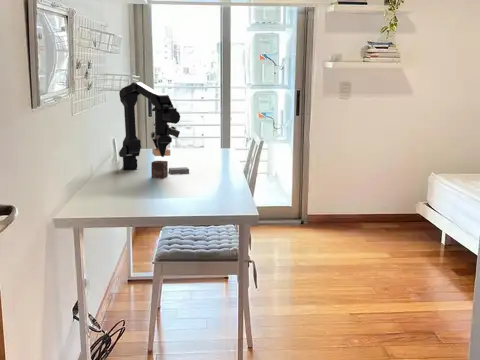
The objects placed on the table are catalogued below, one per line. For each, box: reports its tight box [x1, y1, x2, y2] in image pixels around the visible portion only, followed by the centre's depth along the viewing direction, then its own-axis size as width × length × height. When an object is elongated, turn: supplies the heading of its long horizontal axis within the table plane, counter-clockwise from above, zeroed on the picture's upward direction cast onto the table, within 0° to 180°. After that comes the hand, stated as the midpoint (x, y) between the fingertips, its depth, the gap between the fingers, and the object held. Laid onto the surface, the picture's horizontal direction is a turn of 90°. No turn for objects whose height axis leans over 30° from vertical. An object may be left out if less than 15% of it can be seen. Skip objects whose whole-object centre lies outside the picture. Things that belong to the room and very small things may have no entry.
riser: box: [168, 166, 190, 175], centre depth 262 cm, size 9×5×2 cm, turn 108°
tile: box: [151, 147, 171, 157], centre depth 249 cm, size 7×7×2 cm
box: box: [150, 160, 169, 179], centre depth 250 cm, size 6×6×7 cm
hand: (161, 155), depth 249 cm, fingers closed on tile, 7 cm apart
